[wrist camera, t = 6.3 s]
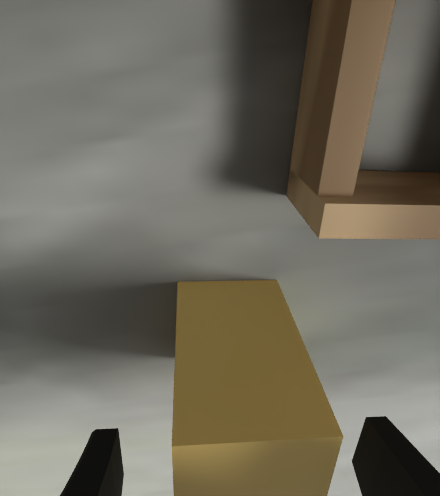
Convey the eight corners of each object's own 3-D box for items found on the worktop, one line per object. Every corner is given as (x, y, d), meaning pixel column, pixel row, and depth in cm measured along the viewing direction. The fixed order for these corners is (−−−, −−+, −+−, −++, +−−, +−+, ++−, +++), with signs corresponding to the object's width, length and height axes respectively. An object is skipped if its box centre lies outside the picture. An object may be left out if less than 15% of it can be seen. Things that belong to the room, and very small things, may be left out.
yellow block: (276, 279, 15) (343, 436, 9) (267, 355, 17) (317, 529, 10) (177, 281, 14) (172, 446, 8) (179, 358, 16) (175, 540, 10)
